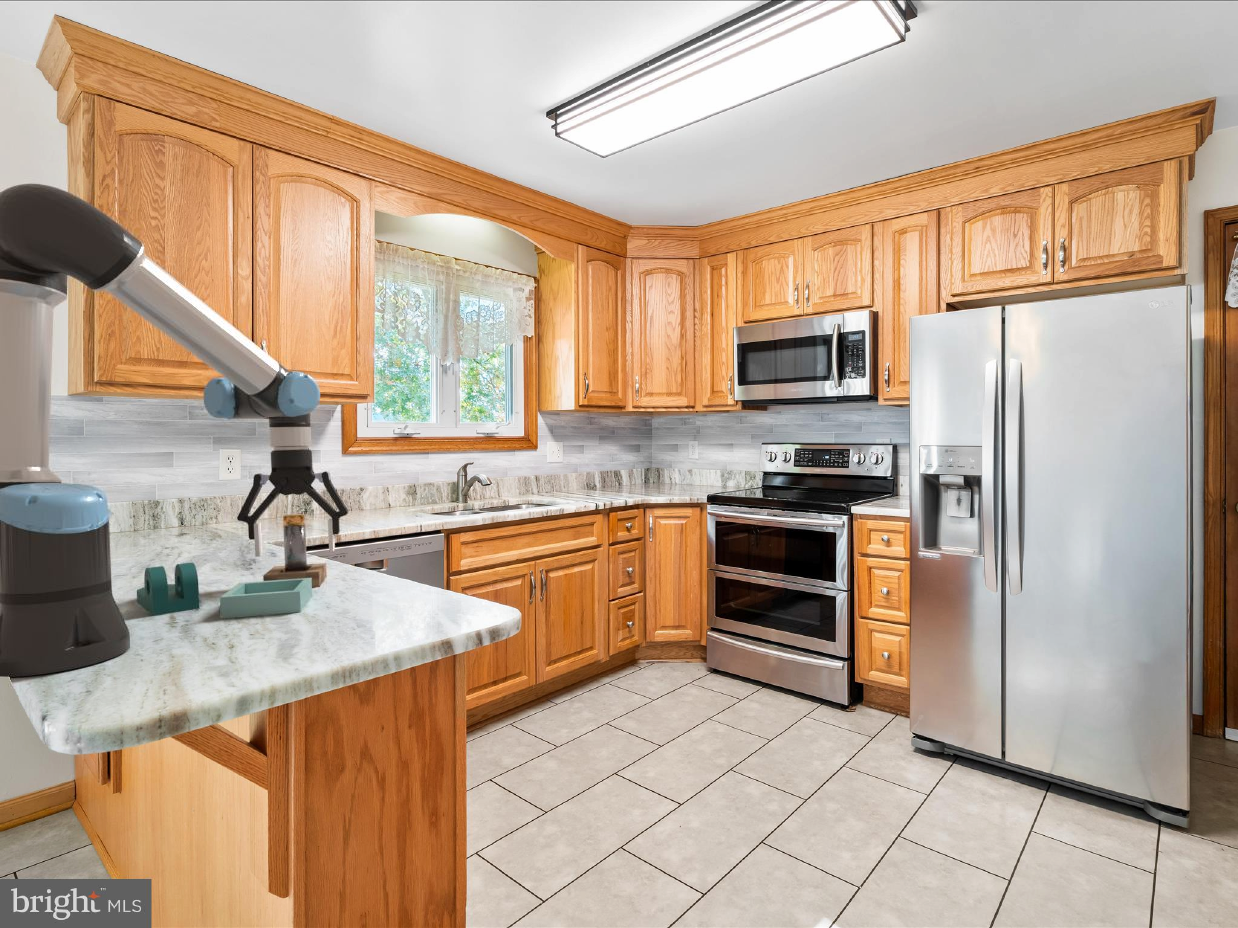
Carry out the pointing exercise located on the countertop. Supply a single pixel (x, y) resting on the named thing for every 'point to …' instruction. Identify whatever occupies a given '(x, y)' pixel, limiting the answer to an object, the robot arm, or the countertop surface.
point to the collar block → (299, 574)
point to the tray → (266, 598)
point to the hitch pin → (294, 542)
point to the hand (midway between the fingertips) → (296, 553)
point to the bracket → (169, 590)
